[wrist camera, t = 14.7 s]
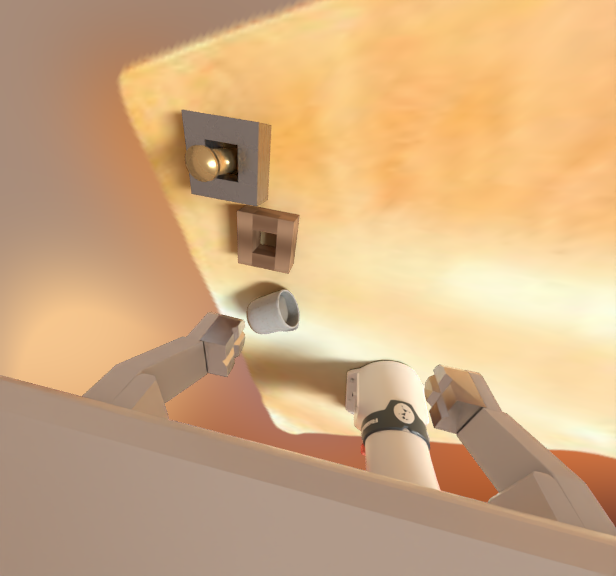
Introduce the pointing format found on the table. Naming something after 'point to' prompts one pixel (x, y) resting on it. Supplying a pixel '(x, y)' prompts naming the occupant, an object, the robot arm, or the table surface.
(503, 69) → the table surface
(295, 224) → the mount
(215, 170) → the pin
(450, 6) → the table surface
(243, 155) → the socket
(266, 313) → the ceramic mug
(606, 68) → the table surface
